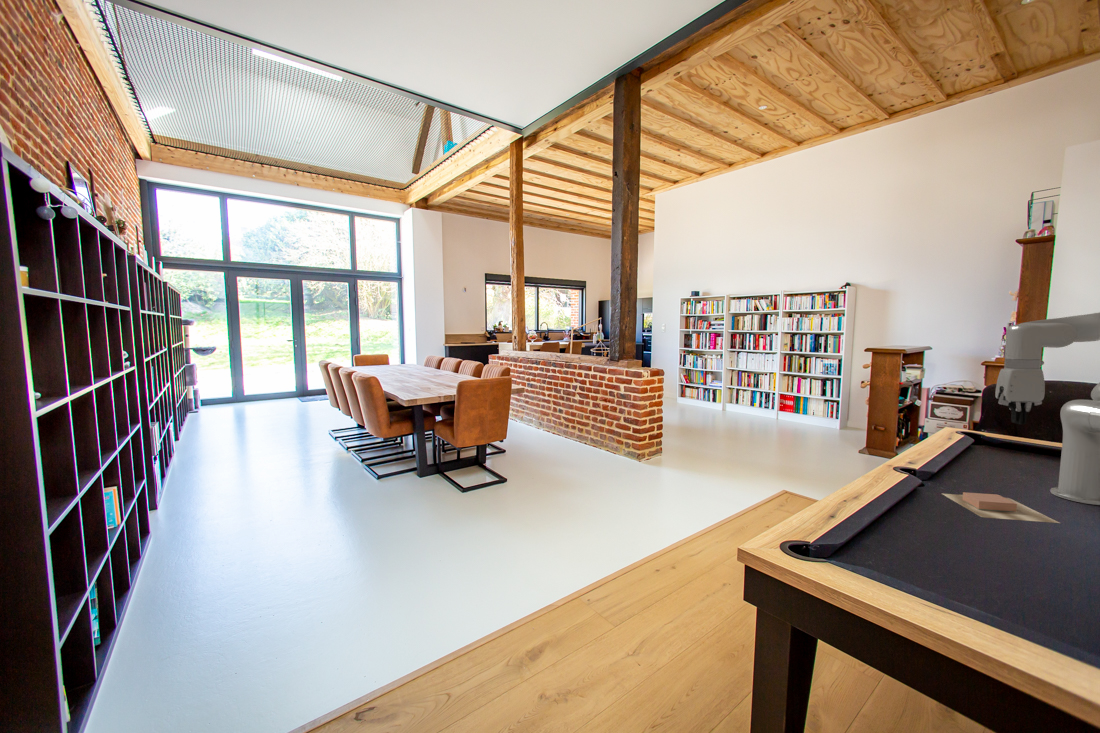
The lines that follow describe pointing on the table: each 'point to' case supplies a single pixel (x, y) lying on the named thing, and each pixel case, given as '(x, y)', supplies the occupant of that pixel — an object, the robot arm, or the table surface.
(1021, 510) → the board
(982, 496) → the tile
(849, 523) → the table surface
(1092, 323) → the robot arm
